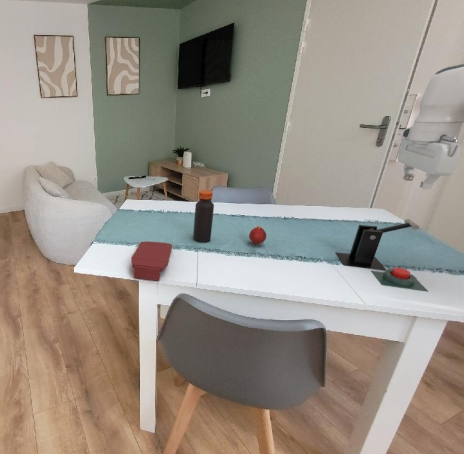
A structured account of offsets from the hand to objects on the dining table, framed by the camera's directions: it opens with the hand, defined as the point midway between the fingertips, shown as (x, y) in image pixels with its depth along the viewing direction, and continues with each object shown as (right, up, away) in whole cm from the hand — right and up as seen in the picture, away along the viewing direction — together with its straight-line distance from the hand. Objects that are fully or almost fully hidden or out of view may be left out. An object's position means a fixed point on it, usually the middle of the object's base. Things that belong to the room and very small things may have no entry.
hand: (415, 184), depth 82 cm
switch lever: (0, -14, +7) cm, 16 cm away
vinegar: (-49, -17, +36) cm, 63 cm away
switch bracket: (-4, -24, +14) cm, 28 cm away
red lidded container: (-71, -24, +22) cm, 78 cm away
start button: (-3, -26, +2) cm, 27 cm away
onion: (-30, -19, +30) cm, 46 cm away
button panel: (-2, -29, +3) cm, 29 cm away
